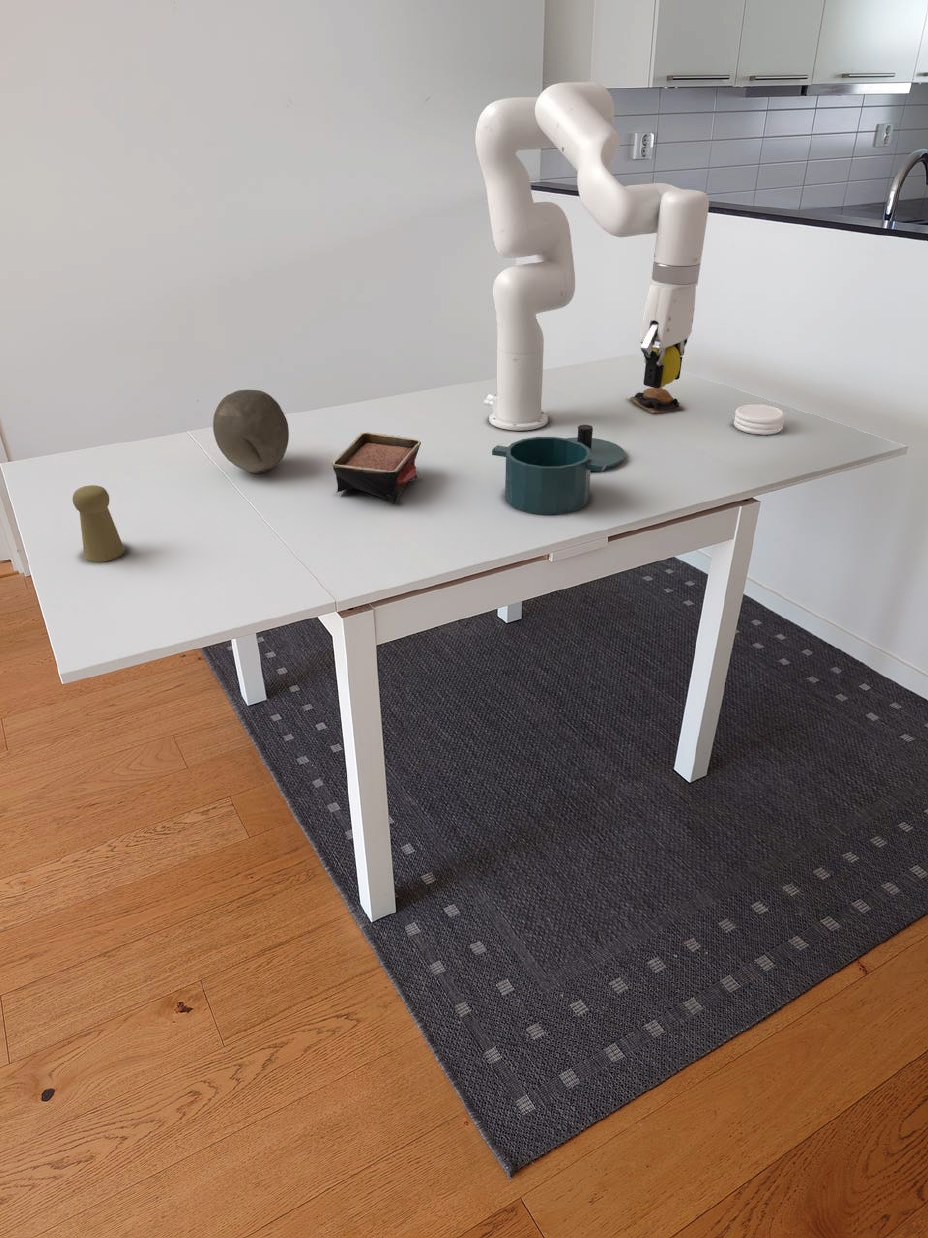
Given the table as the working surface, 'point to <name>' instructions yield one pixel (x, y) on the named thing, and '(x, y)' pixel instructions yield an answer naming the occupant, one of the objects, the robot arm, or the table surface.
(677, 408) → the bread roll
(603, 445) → the pot lid
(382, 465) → the square planter
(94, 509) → the cork
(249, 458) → the grey river stone
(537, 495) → the pot
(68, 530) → the table surface
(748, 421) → the white round flat cylinder
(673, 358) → the lemon
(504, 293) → the robot arm
